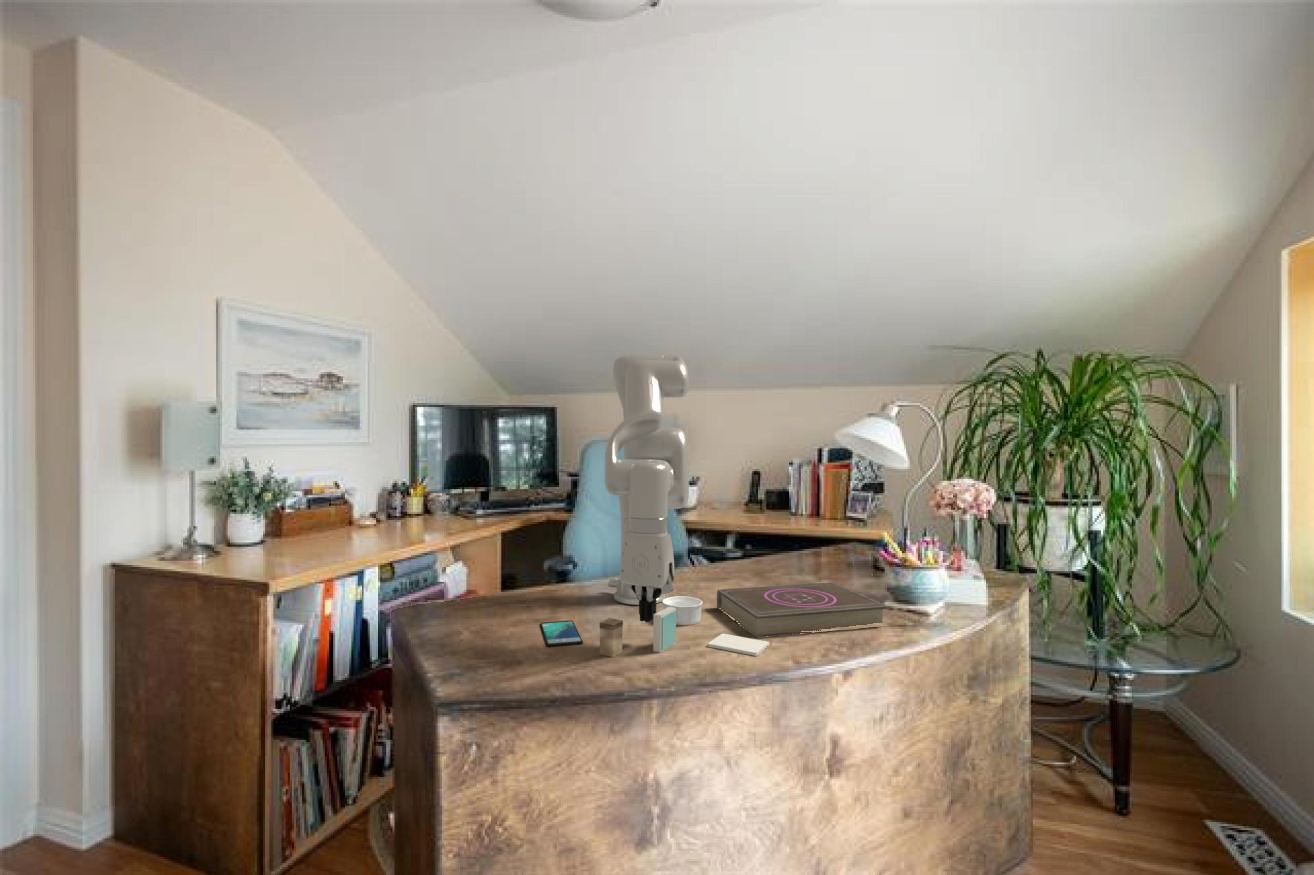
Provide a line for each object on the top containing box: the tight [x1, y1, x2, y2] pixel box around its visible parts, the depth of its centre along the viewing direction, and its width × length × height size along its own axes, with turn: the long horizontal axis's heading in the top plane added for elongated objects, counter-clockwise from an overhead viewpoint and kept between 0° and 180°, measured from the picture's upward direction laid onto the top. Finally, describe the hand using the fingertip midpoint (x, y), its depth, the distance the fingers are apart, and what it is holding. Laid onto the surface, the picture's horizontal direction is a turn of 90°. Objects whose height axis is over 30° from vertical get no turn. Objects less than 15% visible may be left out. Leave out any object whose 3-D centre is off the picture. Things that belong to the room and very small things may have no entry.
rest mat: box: [707, 633, 770, 657], centre depth 123 cm, size 10×7×1 cm
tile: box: [652, 607, 677, 653], centre depth 122 cm, size 2×6×7 cm, turn 150°
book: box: [716, 582, 889, 639], centre depth 142 cm, size 30×22×5 cm
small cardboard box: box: [599, 617, 624, 658], centre depth 118 cm, size 3×3×6 cm
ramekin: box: [661, 595, 704, 626], centre depth 139 cm, size 9×9×4 cm
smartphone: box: [539, 619, 584, 648], centre depth 129 cm, size 7×1×15 cm
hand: (647, 619), depth 124 cm, fingers closed
